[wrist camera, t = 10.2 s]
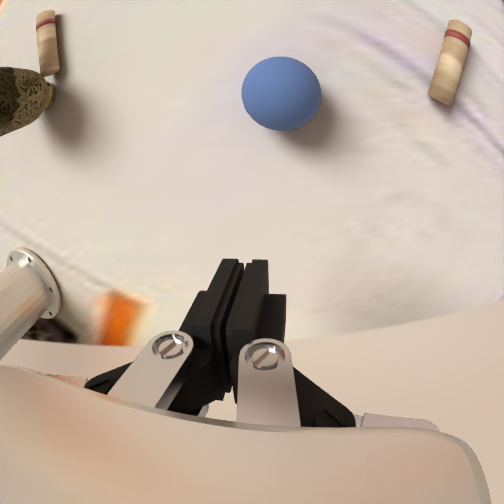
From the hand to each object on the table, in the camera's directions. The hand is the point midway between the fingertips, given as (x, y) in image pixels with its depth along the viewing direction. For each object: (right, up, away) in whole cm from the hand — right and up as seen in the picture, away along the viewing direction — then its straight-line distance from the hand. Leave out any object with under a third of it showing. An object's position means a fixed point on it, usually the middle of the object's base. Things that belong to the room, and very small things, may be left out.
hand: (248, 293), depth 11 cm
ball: (+2, +14, +9) cm, 16 cm away
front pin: (+16, +15, +8) cm, 23 cm away
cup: (-24, +20, +14) cm, 34 cm away
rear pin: (-22, +21, +11) cm, 33 cm away
